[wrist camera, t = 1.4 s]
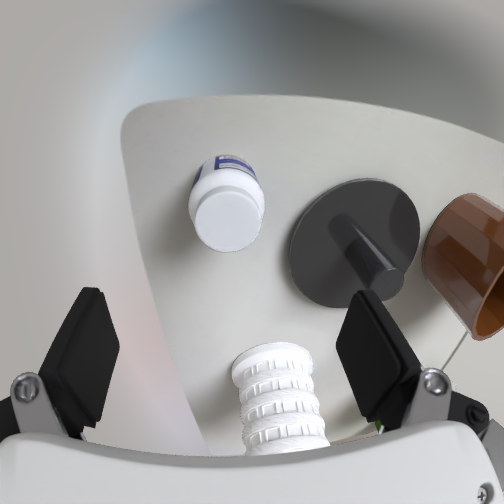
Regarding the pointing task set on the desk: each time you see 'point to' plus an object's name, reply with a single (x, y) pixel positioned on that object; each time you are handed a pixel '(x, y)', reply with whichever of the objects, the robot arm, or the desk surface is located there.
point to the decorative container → (278, 400)
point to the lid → (354, 242)
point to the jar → (469, 263)
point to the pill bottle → (226, 204)
